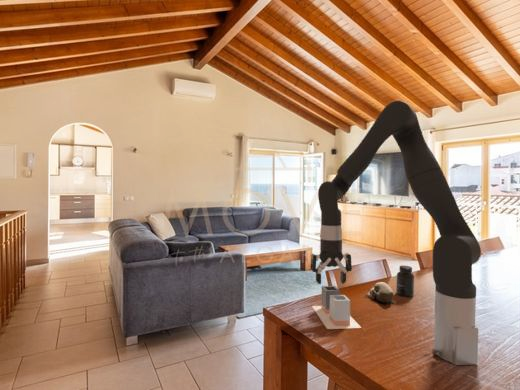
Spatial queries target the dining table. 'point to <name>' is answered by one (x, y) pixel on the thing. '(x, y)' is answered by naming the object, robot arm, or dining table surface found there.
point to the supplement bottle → (405, 282)
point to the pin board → (328, 322)
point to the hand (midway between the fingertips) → (330, 283)
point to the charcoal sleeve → (328, 297)
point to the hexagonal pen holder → (339, 310)
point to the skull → (381, 294)
